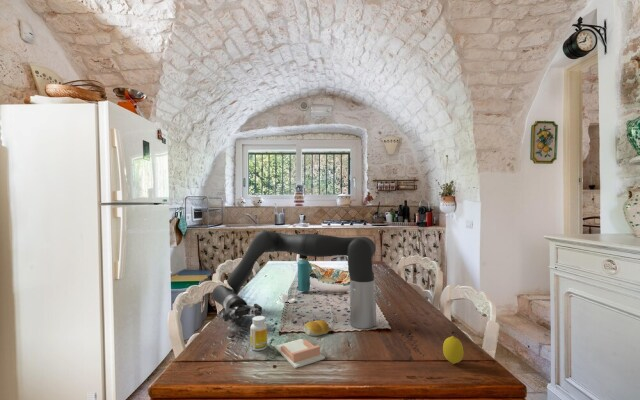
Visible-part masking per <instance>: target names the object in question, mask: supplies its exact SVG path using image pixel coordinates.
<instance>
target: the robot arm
mask: <svg viewBox="0 0 640 400" xmlns="http://www.w3.org/2000/svg"><path fill="white" fill-rule="evenodd" d="M376 248H377V247H376V244H375V242H374V241H373V240H372V239H371V238H369V237H366V236H356V237H354V236H353V237H349V236H348V237H343V236H342V237H341V236H335V235H327V234H320V233H319V234H318V233H297V234H287V233H286V234H285V233H280V232H276V231H271V230H260V231H258V232H257V233H256V234H255V236H254V237H253V239H252V241H251V243H250V245H249V247H248V248H247V250H246V252H245V253H244V256H242V259H241V261H240V262H239V263H238V264H237V266H236V267H235V269H233V271H232V272H231V273H230V275H229V276H228V278H227V280H226V282H227V285H228V286H229V287H227V286H226V285H223V284H219V285H217V286H216V287H214V288H213V290H212V293H211V297H212V300H213V301H215V302H216V303H217V304H219V305H221V306H222V307H223V308H224V309H222V310H221V318H222V320H223V321H224V322H228V321H229V322H231V323H234V324H238V319H240V318H242V317H246V316H247V317H252V316H254V317H256V316H262V314H263V307H262V306H261V305H259V304H258V303H253V305H249V304H248V303H247V301H246V300H245V299H243V298H242V297H241V296H240V295H238V294H239V292H240V290H241V288H242V286H244V284H245V283H246V281H247V280H248V279H249V277H250V276H251V274H252V272H253V269H254V266H255V264H256V262H257V261H258V259H259V258H260V257H262V255H264V254H265V253H274V252H278V253H279V252H287V253H294V254H295V255H299V256H300V255H304V256H307V257H312V258H314V257H315V258H326V257H335V256H345V257H347V269H348V273H349V302H350V303H349V304H350V305H349V306H350V307H349V308H350V309H349V310H350V311H349V313H350V317H349V318H350V319H349V320H350V322H349V323H350V325H351V327H353V328H356V329H362V330H363V329H364V330H365V329H370V328H371V329H372V328H373V326H374V327H377V301H376V300H375V273H374V271H373V257H374V255H375V254H376V250H377V249H376Z"/></svg>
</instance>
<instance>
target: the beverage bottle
mask: <svg viewBox="0 0 640 400" xmlns="http://www.w3.org/2000/svg"><path fill="white" fill-rule="evenodd" d="M299 259H301V260H299V261H297V262H296V263H297V290H298V291H299V292H309V291H310V290H311V281H310V280H311V276H310V274H311V272H310V261H309V260H308V256H304V255H299ZM306 259H307V260H306Z"/></svg>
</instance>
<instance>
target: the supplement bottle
mask: <svg viewBox="0 0 640 400" xmlns="http://www.w3.org/2000/svg"><path fill="white" fill-rule="evenodd" d="M249 331H250V337H249V338H250V343H249V345H250V349H251V350H253V351H262V350H265V349H266V348H267V346H268V325H267V323H266V317H265V316H263V315H261V316H254V317H252V324H251V325H250V330H249Z"/></svg>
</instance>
